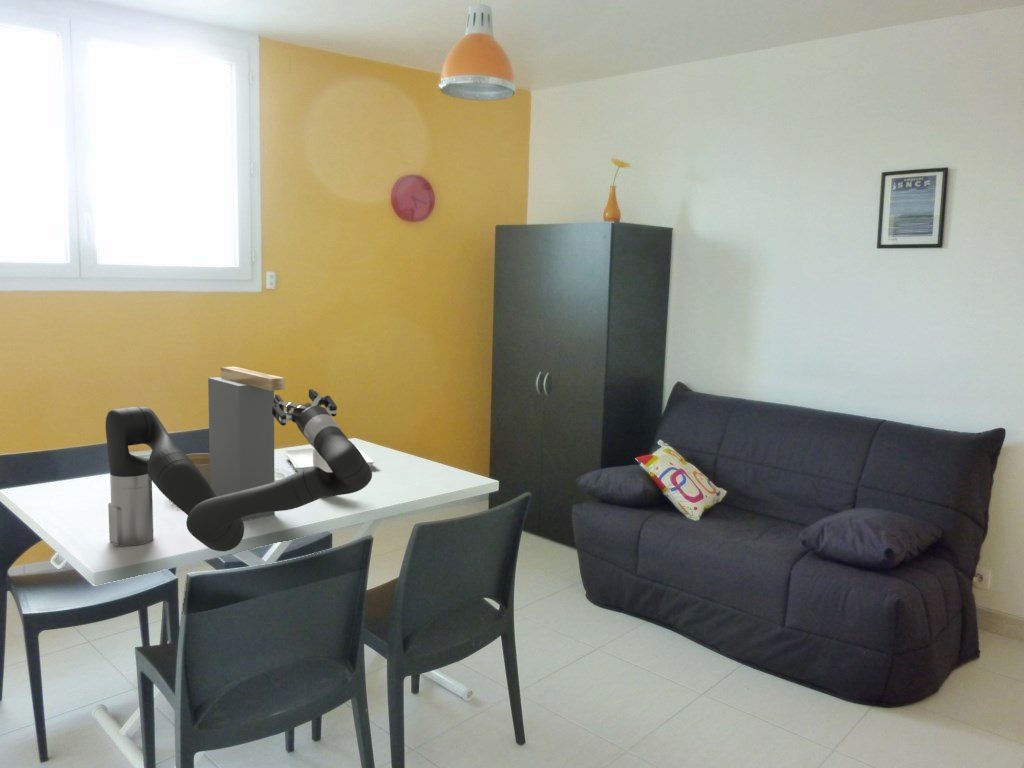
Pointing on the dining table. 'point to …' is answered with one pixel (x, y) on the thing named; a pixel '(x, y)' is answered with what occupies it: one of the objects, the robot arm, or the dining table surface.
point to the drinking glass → (320, 461)
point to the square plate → (311, 458)
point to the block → (253, 378)
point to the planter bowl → (202, 464)
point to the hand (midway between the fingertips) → (293, 395)
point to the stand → (240, 438)
